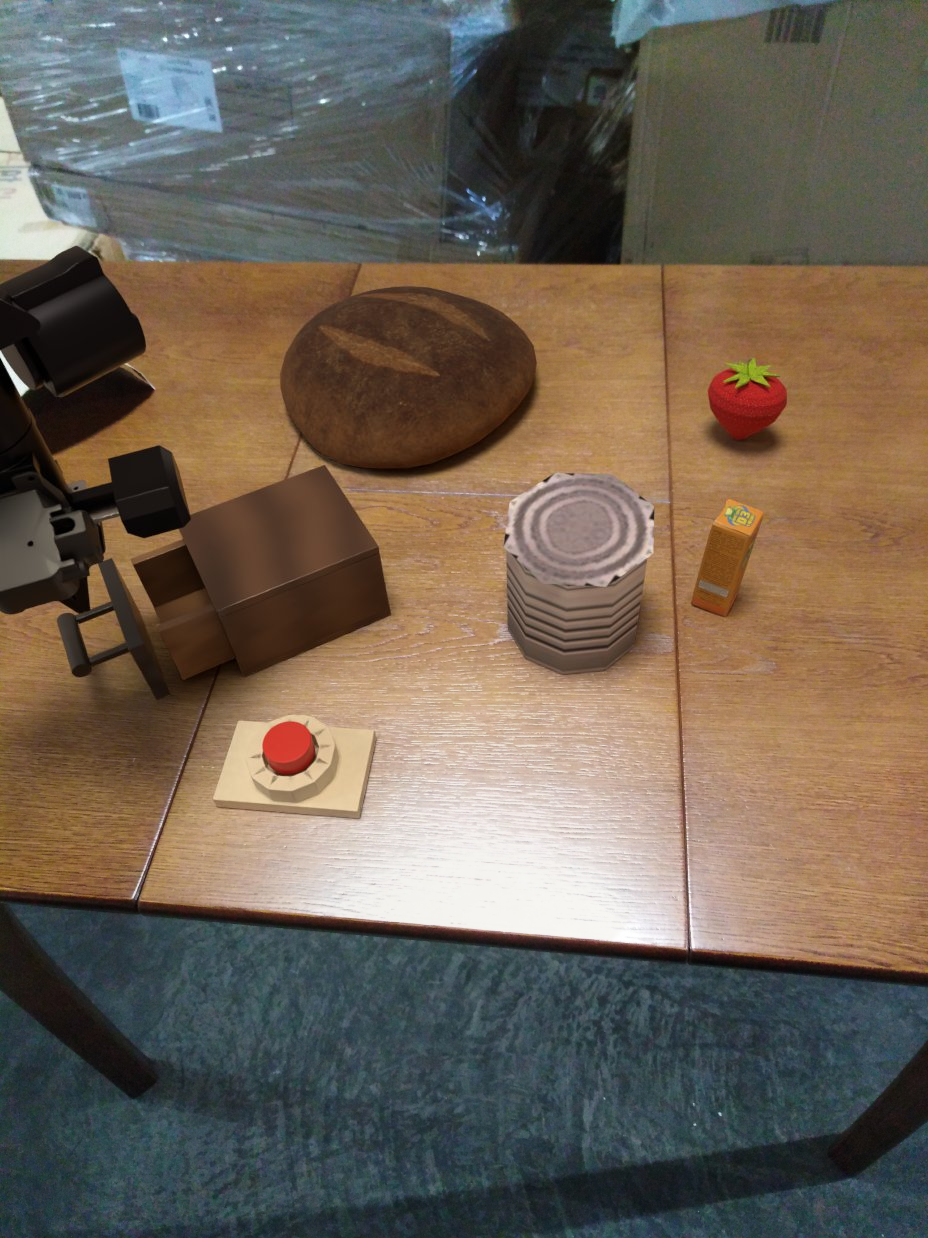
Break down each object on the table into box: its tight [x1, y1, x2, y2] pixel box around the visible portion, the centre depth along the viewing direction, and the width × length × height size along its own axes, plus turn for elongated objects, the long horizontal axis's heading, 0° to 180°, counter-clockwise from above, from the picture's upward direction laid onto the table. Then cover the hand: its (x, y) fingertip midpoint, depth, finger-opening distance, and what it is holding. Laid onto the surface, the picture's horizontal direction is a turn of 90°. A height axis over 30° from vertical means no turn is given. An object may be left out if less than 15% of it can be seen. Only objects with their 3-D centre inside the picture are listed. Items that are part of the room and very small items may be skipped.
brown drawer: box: [56, 538, 235, 701], centre depth 74 cm, size 17×10×7 cm, turn 118°
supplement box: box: [690, 498, 765, 617], centre depth 73 cm, size 3×3×10 cm
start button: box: [262, 721, 315, 775], centre depth 66 cm, size 4×4×2 cm
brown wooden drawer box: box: [178, 464, 392, 678], centre depth 77 cm, size 14×12×9 cm
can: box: [503, 472, 655, 676], centre depth 72 cm, size 11×11×12 cm
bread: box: [279, 285, 538, 470], centre depth 95 cm, size 28×27×9 cm
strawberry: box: [707, 357, 788, 441], centre depth 87 cm, size 6×8×10 cm
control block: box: [212, 713, 377, 819], centre depth 67 cm, size 11×7×3 cm, turn 83°
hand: (84, 608), depth 63 cm, fingers closed
